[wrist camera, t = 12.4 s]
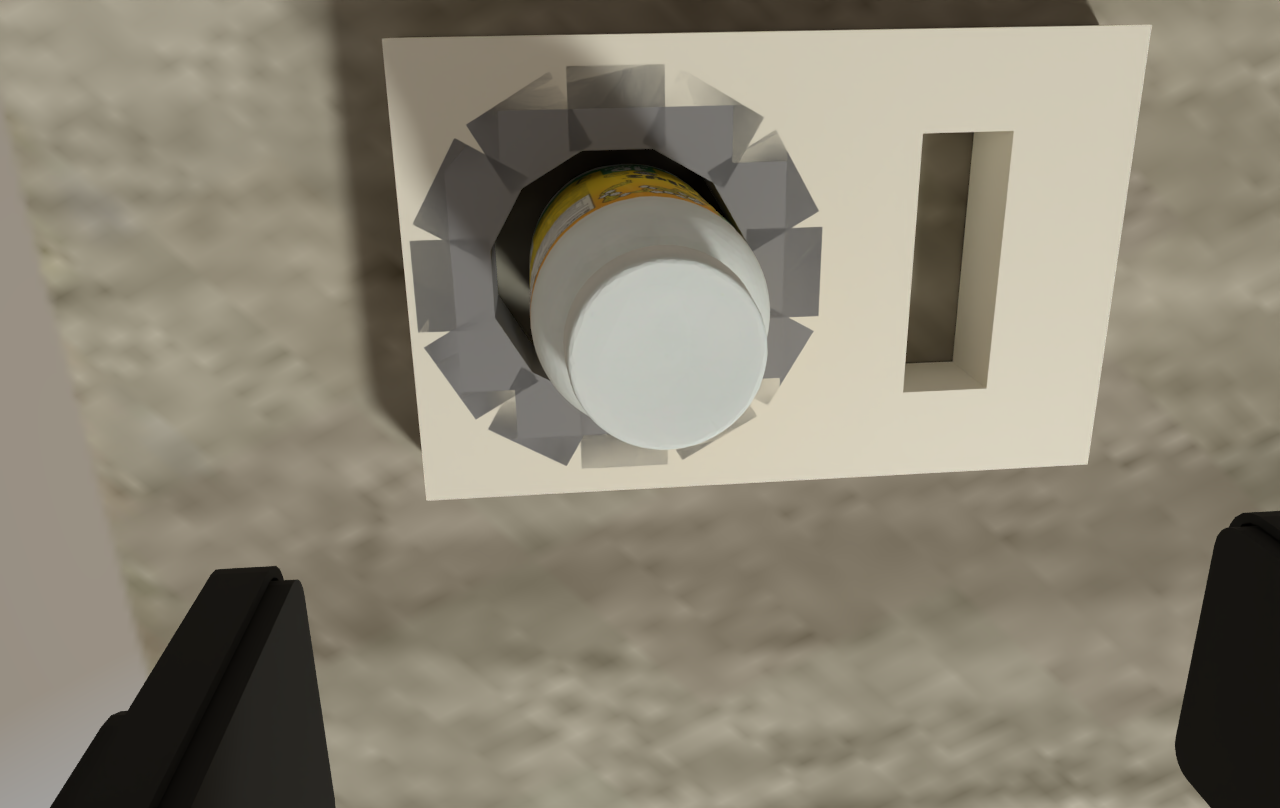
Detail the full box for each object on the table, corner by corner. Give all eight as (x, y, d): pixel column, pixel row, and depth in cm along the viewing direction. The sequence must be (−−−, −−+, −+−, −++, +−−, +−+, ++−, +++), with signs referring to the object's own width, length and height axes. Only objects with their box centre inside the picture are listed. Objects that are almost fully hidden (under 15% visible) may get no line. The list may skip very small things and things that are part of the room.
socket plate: (1100, 25, 28) (1151, 25, 26) (1047, 432, 32) (1087, 464, 30) (395, 37, 26) (381, 38, 24) (434, 464, 31) (426, 500, 28)
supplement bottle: (492, 275, 29) (472, 384, 20) (607, 118, 28) (641, 159, 19) (643, 382, 30) (687, 528, 21) (757, 237, 29) (856, 328, 20)
